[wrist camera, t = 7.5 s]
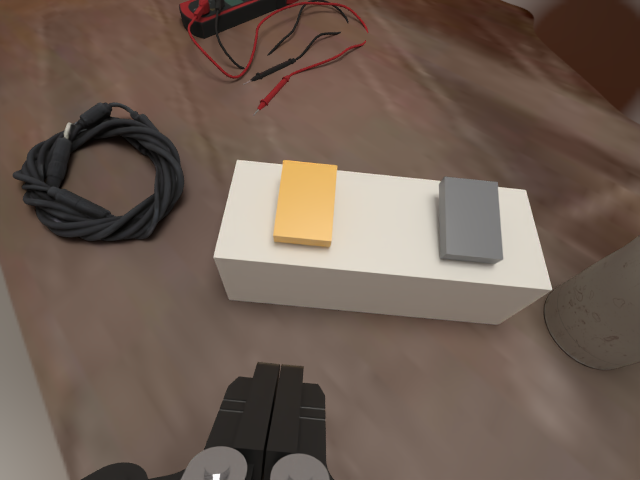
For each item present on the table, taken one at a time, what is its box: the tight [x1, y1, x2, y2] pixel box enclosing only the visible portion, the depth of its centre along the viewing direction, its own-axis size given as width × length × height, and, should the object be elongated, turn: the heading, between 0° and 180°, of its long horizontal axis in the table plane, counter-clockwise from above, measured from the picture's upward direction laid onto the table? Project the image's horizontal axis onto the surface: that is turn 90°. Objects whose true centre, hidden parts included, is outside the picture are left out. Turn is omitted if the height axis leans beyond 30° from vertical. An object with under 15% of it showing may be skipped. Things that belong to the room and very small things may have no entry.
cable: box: [13, 103, 184, 241], centre depth 36 cm, size 17×14×4 cm
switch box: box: [214, 160, 552, 325], centre depth 32 cm, size 24×9×8 cm, turn 86°
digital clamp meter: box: [179, 0, 368, 116], centre depth 52 cm, size 23×4×25 cm
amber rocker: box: [273, 160, 337, 247], centre depth 27 cm, size 4×6×2 cm, turn 176°
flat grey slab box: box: [439, 177, 503, 264], centre depth 28 cm, size 4×6×2 cm, turn 176°
